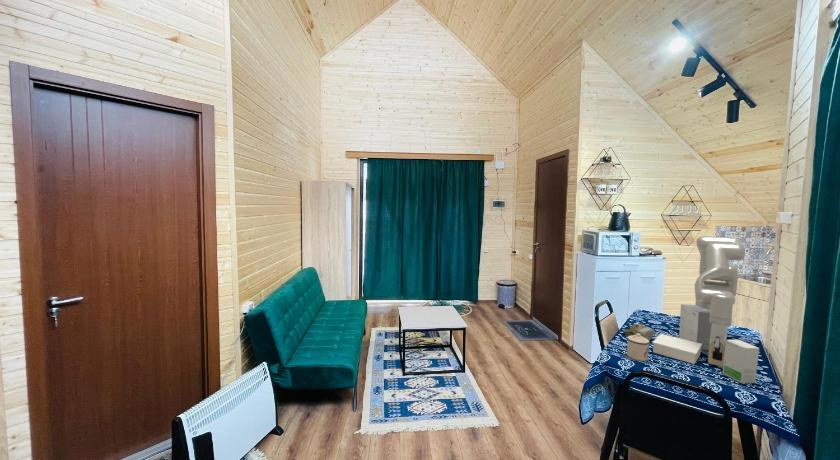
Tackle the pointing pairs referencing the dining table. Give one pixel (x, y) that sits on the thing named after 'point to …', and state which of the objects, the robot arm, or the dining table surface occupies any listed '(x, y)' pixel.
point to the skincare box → (740, 361)
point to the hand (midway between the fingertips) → (717, 357)
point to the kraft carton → (710, 360)
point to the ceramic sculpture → (640, 331)
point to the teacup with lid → (637, 347)
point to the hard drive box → (695, 325)
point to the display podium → (677, 348)
